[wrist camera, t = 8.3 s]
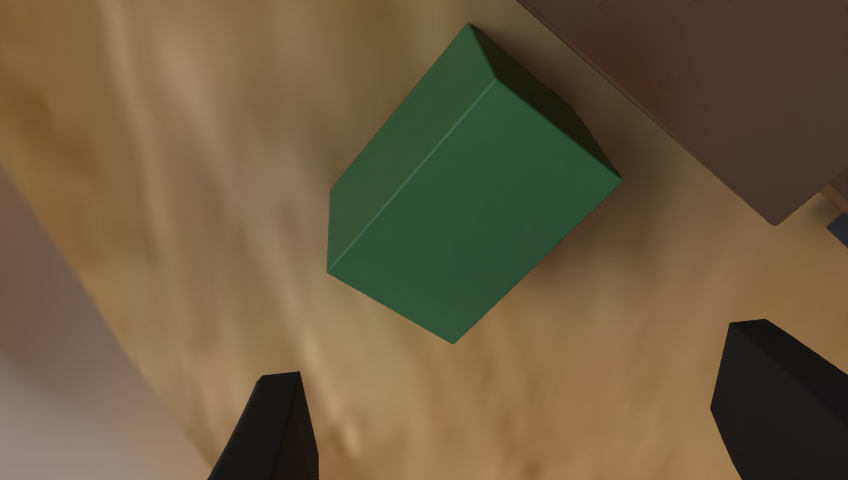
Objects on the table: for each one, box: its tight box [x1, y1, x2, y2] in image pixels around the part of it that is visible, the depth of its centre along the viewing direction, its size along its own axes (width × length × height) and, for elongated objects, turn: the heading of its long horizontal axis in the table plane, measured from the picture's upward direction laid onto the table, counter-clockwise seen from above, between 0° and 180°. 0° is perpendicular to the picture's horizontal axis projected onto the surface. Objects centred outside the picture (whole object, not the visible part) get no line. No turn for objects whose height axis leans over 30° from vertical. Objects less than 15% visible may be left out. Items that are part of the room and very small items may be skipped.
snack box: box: [327, 24, 623, 344], centre depth 18 cm, size 4×6×4 cm, turn 141°
